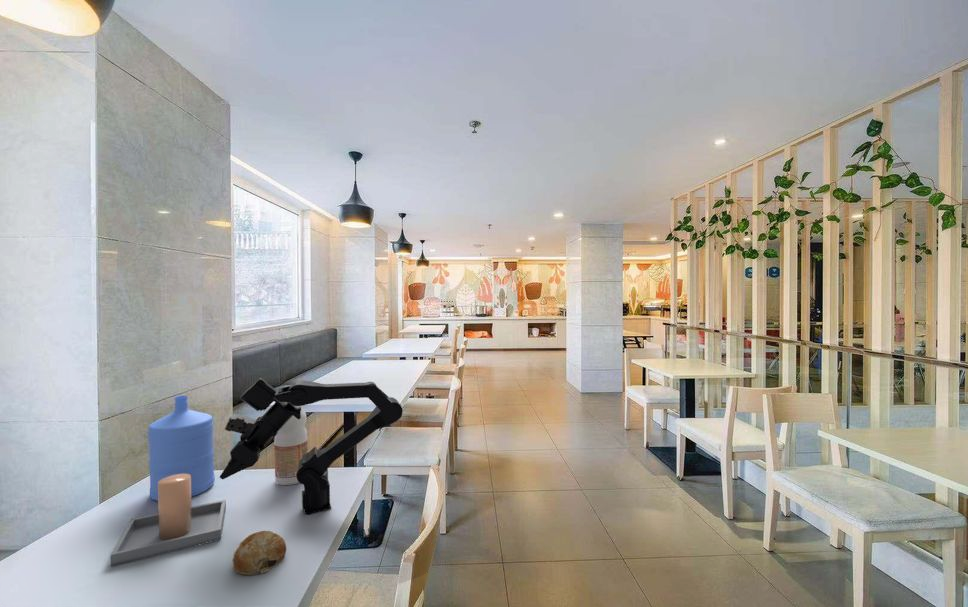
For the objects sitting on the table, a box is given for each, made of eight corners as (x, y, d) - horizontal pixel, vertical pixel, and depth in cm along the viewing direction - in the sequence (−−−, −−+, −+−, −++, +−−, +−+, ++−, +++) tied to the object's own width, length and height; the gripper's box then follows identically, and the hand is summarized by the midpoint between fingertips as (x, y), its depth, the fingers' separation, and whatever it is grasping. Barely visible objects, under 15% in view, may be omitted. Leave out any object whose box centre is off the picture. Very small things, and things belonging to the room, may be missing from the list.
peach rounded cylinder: (197, 524, 104) (196, 473, 104) (180, 539, 98) (179, 485, 97) (170, 525, 104) (169, 474, 103) (152, 540, 97) (151, 486, 97)
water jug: (202, 499, 118) (199, 401, 117) (137, 506, 114) (134, 405, 113) (222, 475, 133) (220, 389, 132) (166, 481, 129) (164, 392, 128)
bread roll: (244, 597, 85) (252, 568, 83) (220, 561, 89) (228, 533, 87) (289, 569, 93) (297, 543, 91) (265, 538, 98) (273, 511, 96)
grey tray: (225, 508, 112) (225, 499, 112) (220, 539, 98) (220, 529, 98) (131, 529, 103) (131, 519, 103) (111, 566, 89) (110, 555, 89)
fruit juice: (282, 489, 124) (280, 396, 123) (270, 479, 130) (268, 391, 129) (313, 478, 130) (311, 390, 130) (300, 470, 137) (299, 386, 136)
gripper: (252, 395, 115) (207, 441, 111) (239, 411, 98) (186, 466, 94) (284, 419, 118) (242, 465, 114) (277, 439, 101) (227, 493, 97)
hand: (225, 471), depth 105 cm, fingers open, 9 cm apart
